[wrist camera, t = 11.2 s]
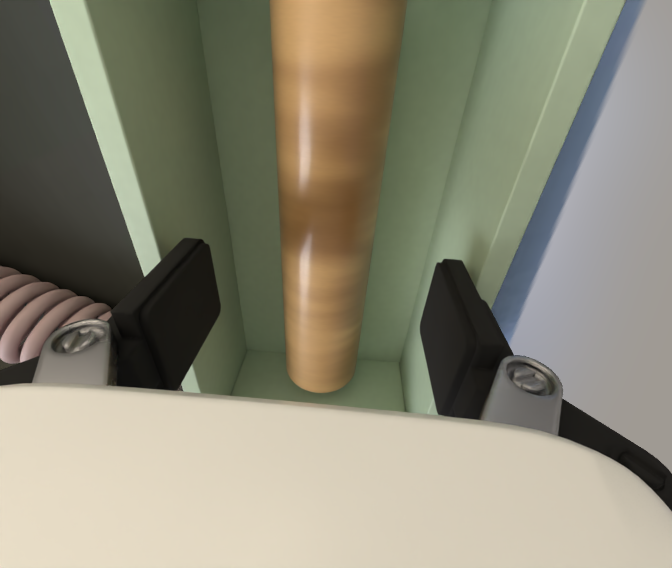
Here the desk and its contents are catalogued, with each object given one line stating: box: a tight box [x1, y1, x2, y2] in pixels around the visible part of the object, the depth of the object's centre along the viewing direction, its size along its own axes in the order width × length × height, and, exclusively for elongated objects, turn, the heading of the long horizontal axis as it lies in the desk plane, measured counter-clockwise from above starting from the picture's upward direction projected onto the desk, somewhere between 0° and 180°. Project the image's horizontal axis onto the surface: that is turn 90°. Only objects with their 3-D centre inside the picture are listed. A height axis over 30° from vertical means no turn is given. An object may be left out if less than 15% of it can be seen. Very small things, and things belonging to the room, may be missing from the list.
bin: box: [50, 0, 626, 416], centre depth 13 cm, size 12×22×7 cm, turn 177°
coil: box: [0, 265, 179, 391], centre depth 19 cm, size 5×5×18 cm
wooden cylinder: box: [269, 0, 407, 393], centre depth 14 cm, size 16×4×4 cm
